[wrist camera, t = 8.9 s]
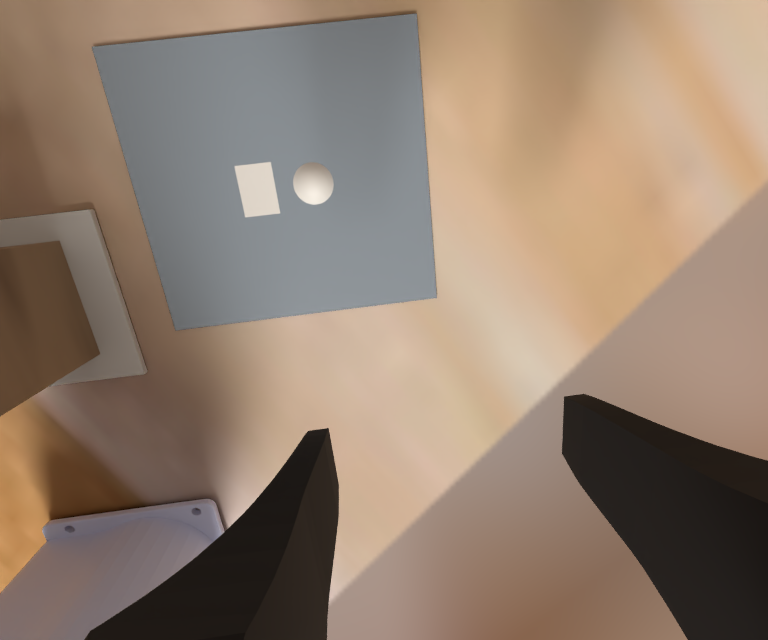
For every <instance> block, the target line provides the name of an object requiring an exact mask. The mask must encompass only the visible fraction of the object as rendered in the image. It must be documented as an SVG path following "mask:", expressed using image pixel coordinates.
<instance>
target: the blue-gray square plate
mask: <svg viewBox="0 0 768 640" xmlns="http://www.w3.org/2000/svg"><path fill="white" fill-rule="evenodd" d="M92 49H93V53H94V56H95V59H96V63H97V66H98V70H99V73H100V76H101V80H102V83H103V87H104V90H105V93H106V97H107V100H108V104H109V107H110V110H111V114H112V117H113V120H114V124H115V127H116V131H117V134H118V137H119V141H120V144H121V148H122V151H123V154H124V158H125V161H126V165H127V168H128V171H129V175H130V178H131V181H132V185H133V188H134V192H135V195H136V198H137V202H138V205H139V209H140V212H141V215H142V219H143V222H144V226H145V229H146V232H147V236H148V239H149V242H150V246H151V249H152V253H153V256H154V259H155V263H156V266H157V270H158V273H159V276H160V280H161V283H162V287H163V290H164V293H165V297H166V300H167V303H168V307H169V310H170V314H171V317H172V320H173V324H174V327H175V331H176V330H184V329H192V328H200V327H208V326H216V325H224V324H232V323H240V322H248V321H256V320H264V319H272V318H280V317H288V316H296V315H304V314H312V313H320V312H328V311H336V310H344V309H352V308H360V307H368V306H376V305H384V304H392V303H400V302H408V301H416V300H424V299H432V298H437V295H436V281H435V267H434V252H433V238H432V224H431V210H430V196H429V181H428V167H427V153H426V139H425V125H424V111H423V96H422V82H421V68H420V54H419V40H418V26H417V13H416V14H407V15H397V16H387V17H377V18H368V19H358V20H348V21H338V22H329V23H319V24H309V25H299V26H290V27H280V28H270V29H260V30H251V31H241V32H231V33H222V34H212V35H202V36H192V37H183V38H173V39H163V40H153V41H144V42H134V43H124V44H114V45H105V46H95V47H92Z"/></svg>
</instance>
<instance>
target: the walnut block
mask: <svg viewBox="0 0 768 640" xmlns="http://www.w3.org/2000/svg"><path fill="white" fill-rule="evenodd" d="M98 355H100V351H99V349H98V346H97V343H96V340H95V337H94V335H93V332H92V329H91V326H90V324H89V321H88V318H87V315H86V313H85V310H84V307H83V304H82V302H81V299H80V296H79V293H78V290H77V288H76V285H75V282H74V279H73V277H72V274H71V271H70V268H69V266H68V263H67V260H66V257H65V255H64V252H63V249H62V246H61V243H60V241H51V242H43V243H34V244H25V245H16V246H7V247H0V416H1V415H3V414H5V413H6V412H8V411H9V410H11V409H13V408H14V407H16V406H17V405H19V404H21V403H22V402H24V401H26V400H27V399H29V398H30V397H32V396H34V395H35V394H37V393H38V392H40V391H42V390H43V389H45V388H46V387H48V386H50V385H51V384H53V383H55V382H56V381H58V380H59V379H61V378H63V377H64V376H66V375H67V374H69V373H71V372H72V371H74V370H75V369H77V368H79V367H80V366H82V365H84V364H85V363H87V362H88V361H90V360H92V359H93V358H95V357H96V356H98Z"/></svg>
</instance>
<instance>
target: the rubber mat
mask: <svg viewBox="0 0 768 640" xmlns="http://www.w3.org/2000/svg"><path fill="white" fill-rule="evenodd" d="M51 241H60V243H61V246H62V249H63V252H64V255H65V257H66V260H67V263H68V266H69V268H70V271H71V274H72V277H73V279H74V282H75V285H76V288H77V290H78V293H79V296H80V299H81V302H82V304H83V307H84V310H85V313H86V315H87V318H88V321H89V324H90V326H91V329H92V332H93V335H94V337H95V340H96V343H97V346H98V349H99V351H100V355H98V356H96V357H95V358H93V359H92V360H90V361H88V362H87V363H85V364H84V365H82V366H80V367H79V368H77V369H75V370H74V371H72V372H71V373H69V374H67V375H66V376H64V377H63V378H61V379H59V380H58V381H56V382H55V383H53V384H51V385H50V386H57V385H65V384H73V383H80V382H88V381H96V380H104V379H111V378H119V377H127V376H135V375H143V374H145V373H147V372H148V371H147V368H146V365H145V362H144V359H143V356H142V353H141V350H140V347H139V344H138V341H137V338H136V335H135V332H134V329H133V326H132V323H131V320H130V317H129V314H128V311H127V308H126V305H125V302H124V299H123V296H122V293H121V290H120V287H119V284H118V281H117V278H116V275H115V272H114V269H113V266H112V263H111V260H110V256H109V253H108V250H107V247H106V244H105V241H104V238H103V235H102V232H101V229H100V226H99V223H98V220H97V217H96V214H95V211H94V209H89V210H80V211H71V212H63V213H54V214H45V215H36V216H28V217H19V218H10V219H2V220H0V247H7V246H16V245H25V244H34V243H43V242H51ZM48 387H49V386H48Z"/></svg>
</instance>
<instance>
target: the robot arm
mask: <svg viewBox="0 0 768 640" xmlns="http://www.w3.org/2000/svg"><path fill="white" fill-rule="evenodd" d="M562 454H563V456H564V457H565V459H566V461H567V463H568V465H569V466H570V468H571V470H572V472H573V473H574V475H575V477H576V479H577V480H578V482H579V483H580V485H581V486H582V488H583V489H584V490H585V492H586V493H587V494H588V496H589V497H590V498H591V499H592V501H593V502H594V503H595V505H596V506H597V507H598V509H599V510H600V511H601V513H602V514H603V515H604V516H605V518H606V519H607V520H608V522H609V523H610V524H611V525H612V527H613V528H614V529H615V531H616V532H617V533H618V535H619V536H620V537H621V538H622V540H623V541H624V542H625V544H626V545H627V546H628V547H629V549H630V550H631V551H632V553H633V554H634V556H635V557H636V558H637V560H638V561H639V563H640V564H641V565H642V567H643V568H644V570H645V571H646V573H647V574H648V576H649V577H650V579H651V581H652V582H653V584H654V585H655V587H656V589H657V590H658V592H659V593H660V595H661V596H662V598H663V600H664V601H665V603H666V604H667V606H668V607H669V609H670V611H671V612H672V614H673V616H674V617H675V619H676V621H677V622H678V624H679V626H680V627H681V629H682V631H683V632H684V634H685V636H686V637H687V639H688V640H768V461H767V460H763V459H759V458H755V457H752V456H749V455H745V454H742V453H739V452H736V451H733V450H729V449H726V448H723V447H719V446H716V445H713V444H711V443H708V442H705V441H702V440H699V439H697V438H694V437H691V436H688V435H686V434H683V433H680V432H677V431H675V430H672V429H670V428H667V427H665V426H662V425H660V424H657V423H655V422H652V421H650V420H647V419H645V418H643V417H640V416H638V415H636V414H633V413H631V412H628V411H626V410H624V409H621V408H619V407H616V406H614V405H612V404H609V403H607V402H605V401H602V400H599V399H597V398H594V397H592V396H589V395H585V394H581V395H573V396H566V397H564V416H563V443H562ZM195 508H198V509H200V510H197V509H195ZM338 514H339V484H338V478H337V473H336V467H335V462H334V456H333V450H332V445H331V439H330V434H329V428H327V429H320V430H312V431H308V432H307V433H306V434H305V436H304V437H303V439H302V440H301V442H300V443H299V444H298V446H297V447H296V449H295V450H294V452H293V453H292V455H291V456H290V457H289V459H288V460H287V462H286V463H285V464H284V466H283V467H282V468H281V470H280V471H279V472H278V474H277V475H276V476H275V478H274V479H273V480H272V481H271V483H270V484H269V485H268V486H267V487H266V489H265V490H264V491H263V492H262V493H261V495H260V496H259V497H258V498H257V499H256V501H255V502H254V503H253V504H252V505H251V506H250V507H249V508H248V509H247V510H246V511H245V513H244V514H243V515H242V516H241V517H240V518H239V519H238V520H237V521H236V522H234V523H233V524H232V525H231V526H230V527H229V528H228V529H227V530H226V531H225V532H224V528H223V525H222V522H221V518H220V515H219V512H218V509H217V505H216V503H215V502H214V501H213V500H211V499H200V500H193V501H186V502H178V503H171V504H164V505H157V506H149V507H142V508H135V509H128V510H121V511H113V512H106V513H99V514H92V515H84V516H77V517H70V518H63V519H56V520H51V521H49V522H48V523H47V524H46V525H45V526H44V527H43V529H42V531H43V534H44V536H45V538H46V540H47V542H46V543H45V544H44V545H43V546H42V547H41V548H40V549H39V551H38V552H37V553H36V554H35V555H34V556H33V557H32V558H31V560H30V561H29V562H28V563H27V564H26V565H25V566H24V567H23V568H22V570H21V571H20V572H19V573H18V574H17V575H16V576H15V577H14V579H13V580H12V581H11V582H10V583H9V584H8V585H7V586H6V587H5V589H4V590H3V591H2V592H1V593H0V640H327V614H328V602H329V592H330V584H331V576H332V567H333V559H334V551H335V543H336V534H337V526H338Z"/></svg>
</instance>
